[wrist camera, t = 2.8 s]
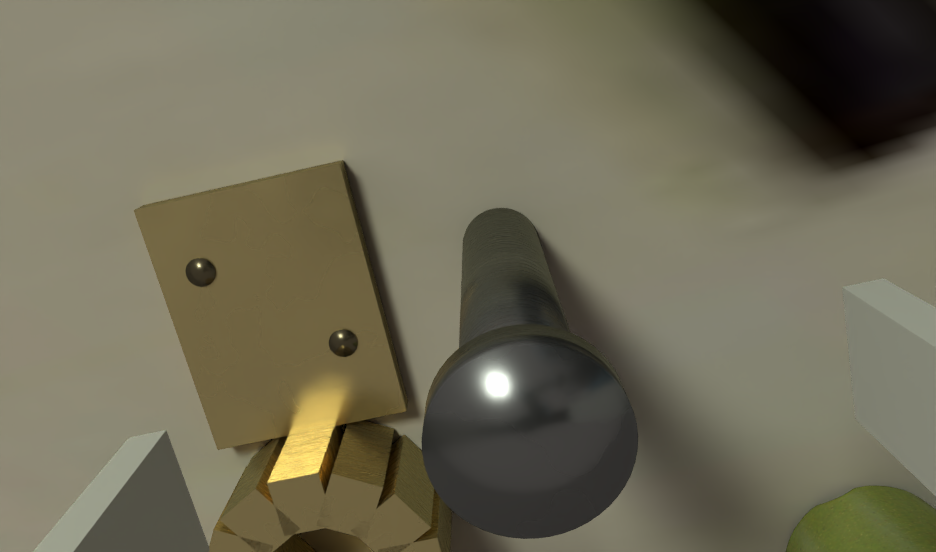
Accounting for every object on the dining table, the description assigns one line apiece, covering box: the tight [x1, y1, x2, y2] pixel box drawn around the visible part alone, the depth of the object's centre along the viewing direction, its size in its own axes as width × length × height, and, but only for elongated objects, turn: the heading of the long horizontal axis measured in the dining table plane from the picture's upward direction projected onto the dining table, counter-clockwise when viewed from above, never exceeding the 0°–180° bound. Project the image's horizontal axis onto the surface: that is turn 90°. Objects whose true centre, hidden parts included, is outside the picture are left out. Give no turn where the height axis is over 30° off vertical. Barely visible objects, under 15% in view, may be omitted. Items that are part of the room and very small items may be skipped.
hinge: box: [134, 160, 452, 552], centre depth 29 cm, size 26×8×4 cm, turn 13°
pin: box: [422, 208, 638, 539], centre depth 21 cm, size 4×4×14 cm
